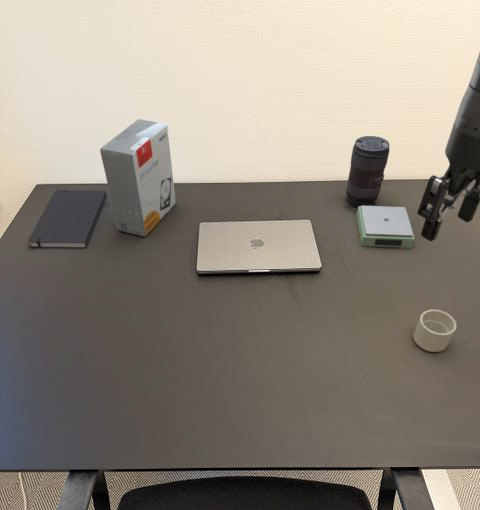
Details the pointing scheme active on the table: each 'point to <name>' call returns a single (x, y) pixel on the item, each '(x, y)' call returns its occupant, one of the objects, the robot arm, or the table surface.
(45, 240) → the notebook
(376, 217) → the scale
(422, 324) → the beige cup
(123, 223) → the hard drive box
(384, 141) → the camera lens
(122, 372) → the table surface
